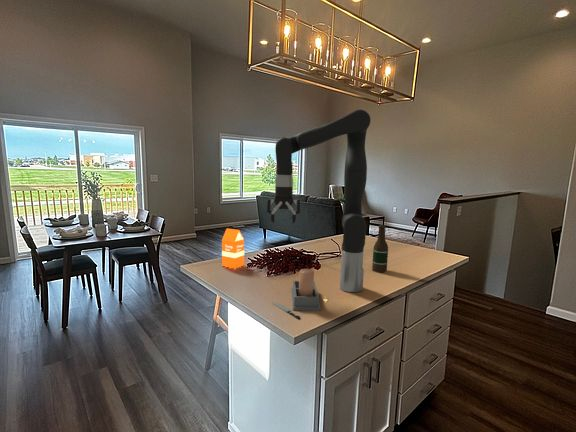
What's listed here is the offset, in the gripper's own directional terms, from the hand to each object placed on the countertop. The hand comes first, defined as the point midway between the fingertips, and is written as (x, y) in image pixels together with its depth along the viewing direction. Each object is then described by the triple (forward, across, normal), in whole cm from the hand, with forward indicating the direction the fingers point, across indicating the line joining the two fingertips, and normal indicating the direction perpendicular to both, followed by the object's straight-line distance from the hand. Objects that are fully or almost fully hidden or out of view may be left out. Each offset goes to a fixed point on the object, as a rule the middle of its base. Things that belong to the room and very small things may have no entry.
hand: (283, 222), depth 135 cm
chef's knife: (+29, +1, -25) cm, 38 cm away
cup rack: (+28, +9, -16) cm, 34 cm away
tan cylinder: (+27, +9, -20) cm, 35 cm away
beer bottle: (+28, +51, +22) cm, 62 cm away
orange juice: (+28, -26, +26) cm, 46 cm away
